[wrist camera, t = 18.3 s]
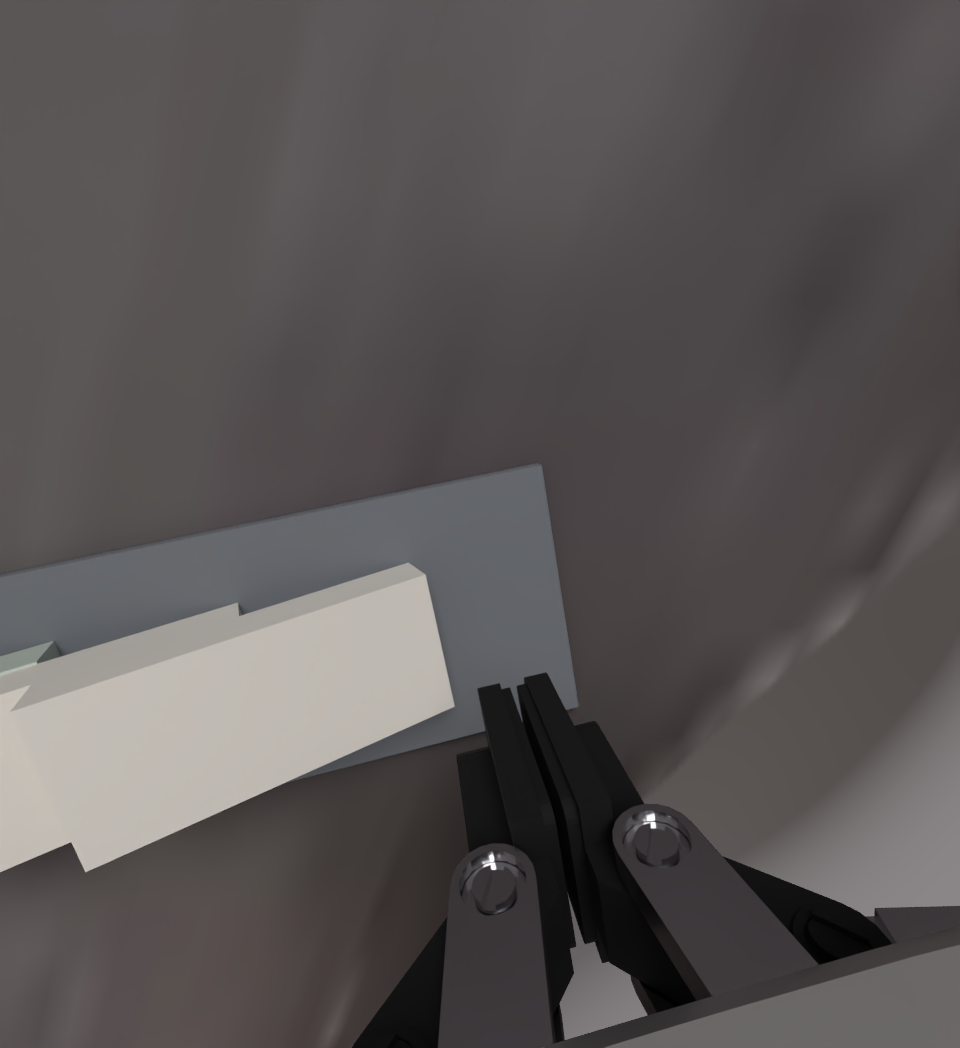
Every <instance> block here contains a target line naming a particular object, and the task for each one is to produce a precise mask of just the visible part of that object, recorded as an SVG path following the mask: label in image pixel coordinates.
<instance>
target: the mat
mask: <svg viewBox="0 0 960 1048" xmlns="http://www.w3.org/2000/svg"><path fill="white" fill-rule="evenodd" d="M405 563H410V564H411V565H413V566H414V567H416V568H417V569H418V570H420V571H421V572H423V573H424V574H425V575H426V579H427V583H428V588H429V592H430V597H431V601H432V606H433V610H434V615H435V619H436V624H437V628H438V633H439V638H440V642H441V647H442V651H443V656H444V660H445V665H446V669H447V674H448V678H449V683H450V687H451V692H452V696H453V701H454V705H455V707H453V708H450V709H448V710H446V711H444V712H441V713H439V714H437V715H435V716H433V717H430V718H428V719H426V720H424V721H421V722H419V723H417V724H415V725H412V726H410V727H408V728H406V729H404V730H401V731H399V732H397V733H395V734H392V735H390V736H388V737H386V738H384V739H381V740H379V741H377V742H375V743H372V744H370V745H368V746H366V747H363V748H361V749H359V750H357V751H355V752H352V753H350V754H348V755H346V756H343V757H341V758H339V759H337V760H335V761H332V762H330V763H328V764H326V765H323V766H321V767H319V768H317V769H314V770H312V771H310V772H308V773H306V774H303V775H301V776H299V777H297V778H294V779H292V780H290V781H288V782H291V781H295V780H299V779H303V778H306V777H310V776H314V775H318V774H322V773H326V772H330V771H333V770H337V769H341V768H345V767H349V766H353V765H356V764H360V763H364V762H368V761H372V760H376V759H380V758H383V757H387V756H391V755H395V754H399V753H403V752H407V751H410V750H414V749H418V748H422V747H426V746H430V745H433V744H437V743H441V742H445V741H449V740H453V739H457V738H460V737H464V736H468V735H472V734H476V733H480V732H483V731H485V726H484V721H483V716H482V711H481V706H480V701H479V696H478V690H477V688H481V687H485V686H489V685H493V684H498V683H500V686H501V689H504V688H509V687H510V689H511V692H512V695H513V697H514V700H515V703H516V706H517V709H518V712H519V714H520V717H521V720H522V716H521V710H520V705H519V699H518V693H517V685H522V684H524V677H528V676H532V675H536V674H541V673H545V672H546V673H547V674H548V676H549V678H550V680H551V682H552V684H553V686H554V687H555V689H556V691H557V693H558V695H559V697H560V699H561V701H562V703H563V705H564V707H565V709H566V710H568V709H572V708H576V707H579V706H578V699H577V693H576V686H575V680H574V673H573V667H572V660H571V653H570V647H569V640H568V634H567V627H566V621H565V614H564V608H563V601H562V595H561V588H560V582H559V575H558V569H557V562H556V556H555V549H554V543H553V536H552V529H551V523H550V516H549V510H548V503H547V497H546V490H545V484H544V477H543V471H542V465H541V464H538V463H535V464H530V465H525V466H521V467H516V468H511V469H506V470H501V471H496V472H492V473H487V474H482V475H477V476H472V477H467V478H463V479H458V480H453V481H448V482H443V483H438V484H434V485H429V486H424V487H419V488H414V489H409V490H405V491H400V492H395V493H390V494H385V495H381V496H376V497H371V498H366V499H361V500H356V501H352V502H347V503H342V504H337V505H332V506H327V507H323V508H318V509H313V510H308V511H303V512H298V513H294V514H289V515H284V516H279V517H274V518H269V519H265V520H260V521H255V522H250V523H245V524H241V525H236V526H231V527H226V528H221V529H216V530H212V531H207V532H202V533H197V534H192V535H187V536H183V537H178V538H173V539H168V540H163V541H158V542H154V543H149V544H144V545H139V546H134V547H129V548H125V549H120V550H115V551H110V552H105V553H101V554H96V555H91V556H86V557H81V558H76V559H72V560H67V561H62V562H57V563H52V564H47V565H43V566H38V567H33V568H28V569H23V570H18V571H14V572H9V573H4V574H0V656H4V655H7V654H10V653H14V652H17V651H21V650H24V649H27V648H31V647H34V646H38V645H41V644H45V643H48V642H51V641H54V642H55V644H56V646H57V649H58V651H59V653H60V656H65V655H68V654H71V653H74V652H78V651H81V650H84V649H87V648H91V647H94V646H97V645H101V644H104V643H107V642H110V641H114V640H117V639H120V638H123V637H127V636H130V635H133V634H137V633H140V632H143V631H146V630H150V629H153V628H156V627H159V626H163V625H166V624H169V623H172V622H176V621H179V620H182V619H186V618H189V617H192V616H195V615H199V614H202V613H205V612H208V611H212V610H215V609H218V608H222V607H225V606H228V605H231V604H235V603H238V604H239V607H240V610H241V613H242V615H244V614H247V613H251V612H254V611H257V610H260V609H263V608H266V607H270V606H273V605H276V604H279V603H282V602H285V601H288V600H292V599H295V598H298V597H301V596H304V595H307V594H311V593H314V592H317V591H320V590H323V589H326V588H330V587H333V586H336V585H339V584H342V583H345V582H348V581H352V580H355V579H358V578H361V577H364V576H367V575H371V574H374V573H377V572H380V571H383V570H386V569H389V568H393V567H396V566H399V565H402V564H405ZM286 783H287V782H286Z"/></svg>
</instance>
